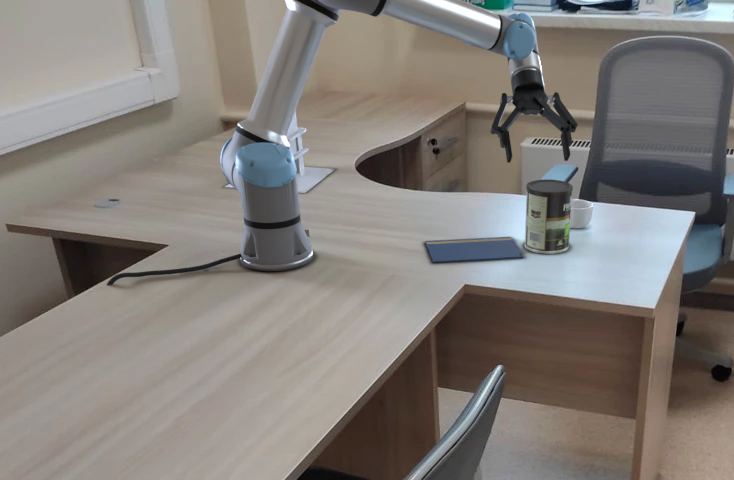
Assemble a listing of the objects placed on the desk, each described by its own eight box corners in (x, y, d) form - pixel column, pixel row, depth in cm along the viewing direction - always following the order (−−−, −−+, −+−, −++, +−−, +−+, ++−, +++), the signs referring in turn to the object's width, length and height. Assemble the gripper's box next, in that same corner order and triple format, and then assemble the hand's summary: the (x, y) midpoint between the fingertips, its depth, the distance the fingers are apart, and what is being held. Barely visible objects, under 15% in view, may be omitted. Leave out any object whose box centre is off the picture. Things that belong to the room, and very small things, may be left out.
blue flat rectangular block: (433, 263, 182) (433, 261, 182) (425, 242, 193) (425, 240, 193) (523, 258, 186) (523, 256, 186) (510, 238, 197) (510, 236, 197)
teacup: (592, 231, 202) (594, 209, 200) (560, 230, 202) (561, 208, 200) (589, 218, 211) (591, 197, 208) (559, 217, 211) (560, 196, 208)
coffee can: (571, 240, 196) (575, 180, 189) (565, 256, 188) (569, 194, 180) (528, 236, 198) (530, 177, 191) (520, 252, 189) (522, 190, 182)
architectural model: (335, 169, 244) (330, 104, 235) (305, 192, 223) (298, 123, 214) (260, 164, 247) (252, 100, 238) (224, 187, 226) (214, 118, 217)
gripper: (573, 86, 203) (586, 165, 198) (472, 88, 199) (482, 168, 194) (581, 67, 196) (595, 148, 191) (476, 68, 191) (487, 151, 186)
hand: (538, 158), depth 192 cm, fingers open, 13 cm apart
